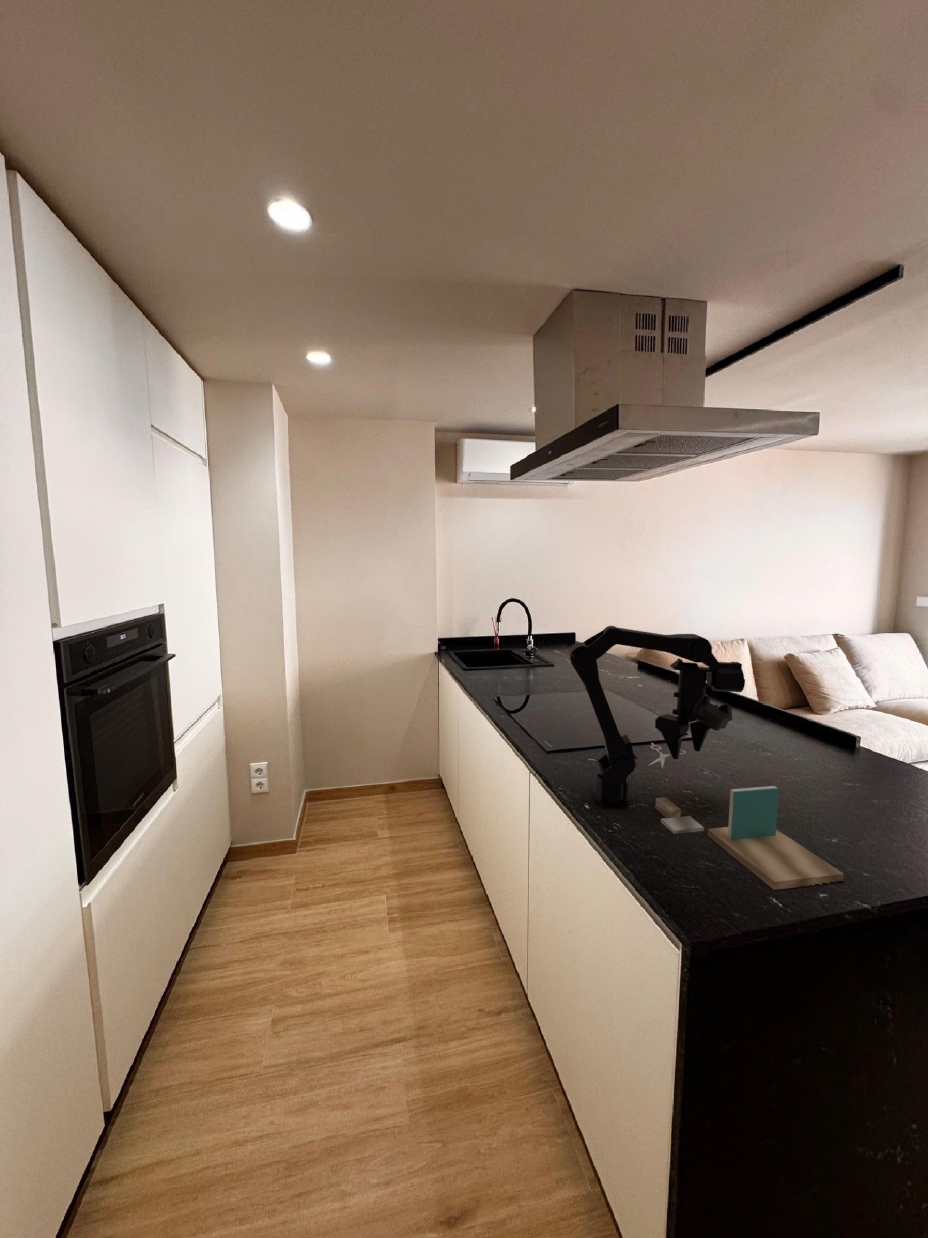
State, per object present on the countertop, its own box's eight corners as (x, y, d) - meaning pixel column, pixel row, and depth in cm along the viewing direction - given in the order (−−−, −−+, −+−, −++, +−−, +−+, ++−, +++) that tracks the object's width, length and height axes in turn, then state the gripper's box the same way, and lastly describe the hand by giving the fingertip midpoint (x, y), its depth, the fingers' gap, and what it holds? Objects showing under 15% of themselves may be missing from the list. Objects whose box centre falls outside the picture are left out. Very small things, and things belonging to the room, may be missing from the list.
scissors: (687, 749, 155) (674, 770, 138) (687, 751, 155) (674, 773, 138) (651, 742, 161) (635, 762, 144) (651, 745, 161) (635, 765, 144)
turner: (673, 834, 107) (674, 822, 106) (646, 809, 117) (646, 799, 117) (703, 831, 108) (704, 820, 107) (674, 807, 118) (674, 796, 118)
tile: (731, 839, 101) (734, 792, 100) (727, 836, 102) (730, 789, 101) (775, 835, 103) (778, 788, 102) (771, 832, 104) (774, 786, 103)
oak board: (773, 890, 88) (774, 882, 88) (707, 835, 106) (708, 829, 106) (842, 881, 90) (843, 873, 90) (766, 830, 108) (767, 823, 108)
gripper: (704, 703, 104) (697, 776, 106) (747, 692, 115) (741, 758, 116) (655, 691, 113) (650, 758, 114) (700, 682, 124) (695, 743, 125)
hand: (686, 755), depth 117 cm, fingers open, 9 cm apart
